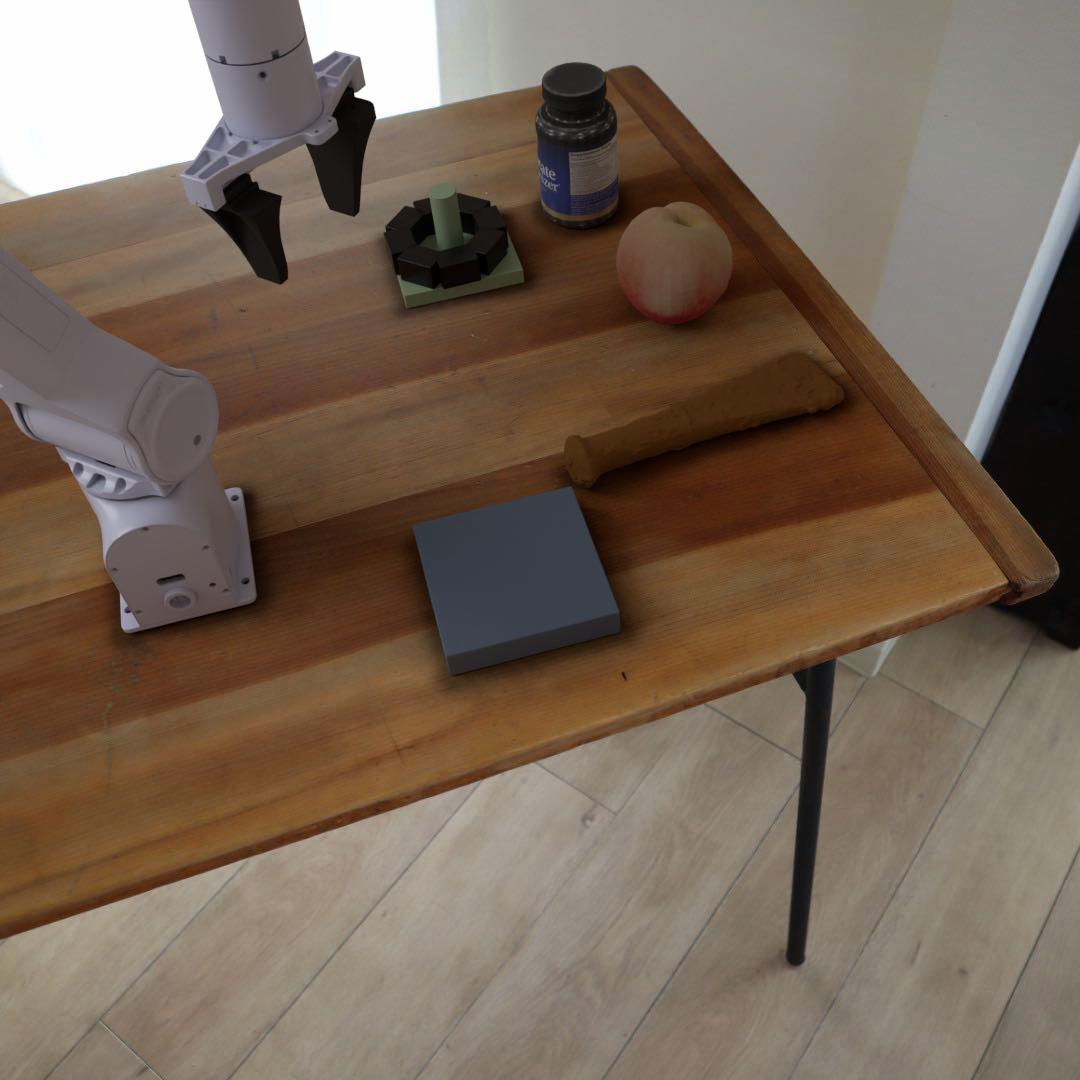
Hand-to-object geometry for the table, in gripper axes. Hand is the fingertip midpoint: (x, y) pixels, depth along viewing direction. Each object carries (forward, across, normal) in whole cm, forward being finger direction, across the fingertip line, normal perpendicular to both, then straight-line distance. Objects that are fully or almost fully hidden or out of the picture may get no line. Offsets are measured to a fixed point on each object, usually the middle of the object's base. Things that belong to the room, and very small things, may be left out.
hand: (309, 243), depth 75 cm
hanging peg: (+10, +13, -1) cm, 17 cm away
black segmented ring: (+9, +13, -1) cm, 16 cm away
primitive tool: (+11, +6, -25) cm, 28 cm away
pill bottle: (+11, +23, -6) cm, 26 cm away
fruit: (+11, +16, -18) cm, 26 cm away
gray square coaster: (+10, -11, -21) cm, 26 cm away
